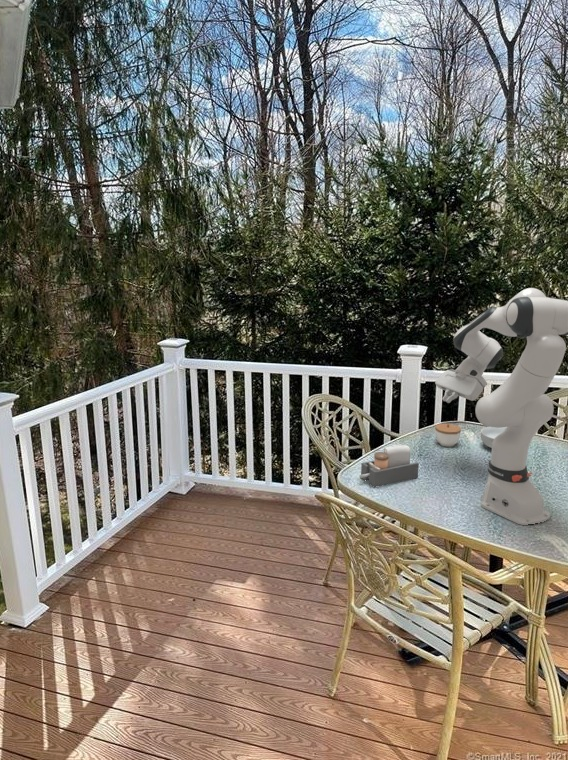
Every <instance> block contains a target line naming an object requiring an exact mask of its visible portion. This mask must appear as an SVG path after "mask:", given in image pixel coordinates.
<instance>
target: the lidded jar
mask: <svg viewBox="0 0 568 760" xmlns="http://www.w3.org/2000/svg"><path fill="white" fill-rule="evenodd" d="M434 427H435V428H434V430H435V431H434V433H435V439H436V441H437V442H438V443H439V445H441V446H442V447H451V448H452V447H454V446H455V445H456V444H457V443H458V442H459V440H460V437H461V431H462V428H461V427H460V426H458V425H455V424H453V423H438V424H436V425H435V426H434Z"/></svg>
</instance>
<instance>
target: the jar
mask: <svg viewBox="0 0 568 760" xmlns="http://www.w3.org/2000/svg"><path fill="white" fill-rule="evenodd" d="M373 454H374V455H373V457H374V459H373V461H374V465H375V466H377V467H378V468H380V470H382V469H387V468H388V456H389V455H388V454H387V453H385V452H384V451H383V452H382V451H378V452H375V453H373Z"/></svg>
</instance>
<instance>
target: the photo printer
mask: <svg viewBox="0 0 568 760" xmlns="http://www.w3.org/2000/svg"><path fill="white" fill-rule="evenodd" d="M383 452H385V453H387V454H388V455H389V456H388V468H392V467H397V466H402V465H406V464H411V448H410V446H408V445H405V444H393V445H389V446H386V447H385V448H384V449H383Z"/></svg>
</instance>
